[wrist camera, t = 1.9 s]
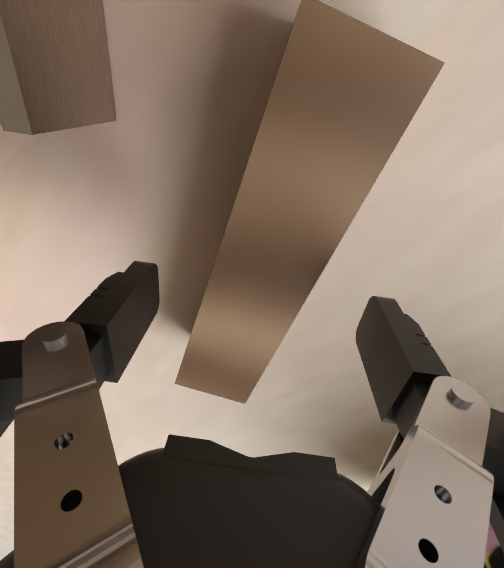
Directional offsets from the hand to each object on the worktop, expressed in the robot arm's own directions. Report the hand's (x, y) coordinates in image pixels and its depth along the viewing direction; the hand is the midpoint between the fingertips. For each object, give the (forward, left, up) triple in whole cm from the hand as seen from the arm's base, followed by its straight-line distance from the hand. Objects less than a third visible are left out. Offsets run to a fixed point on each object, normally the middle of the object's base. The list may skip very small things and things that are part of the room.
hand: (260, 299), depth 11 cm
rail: (0, 0, -5) cm, 5 cm away
